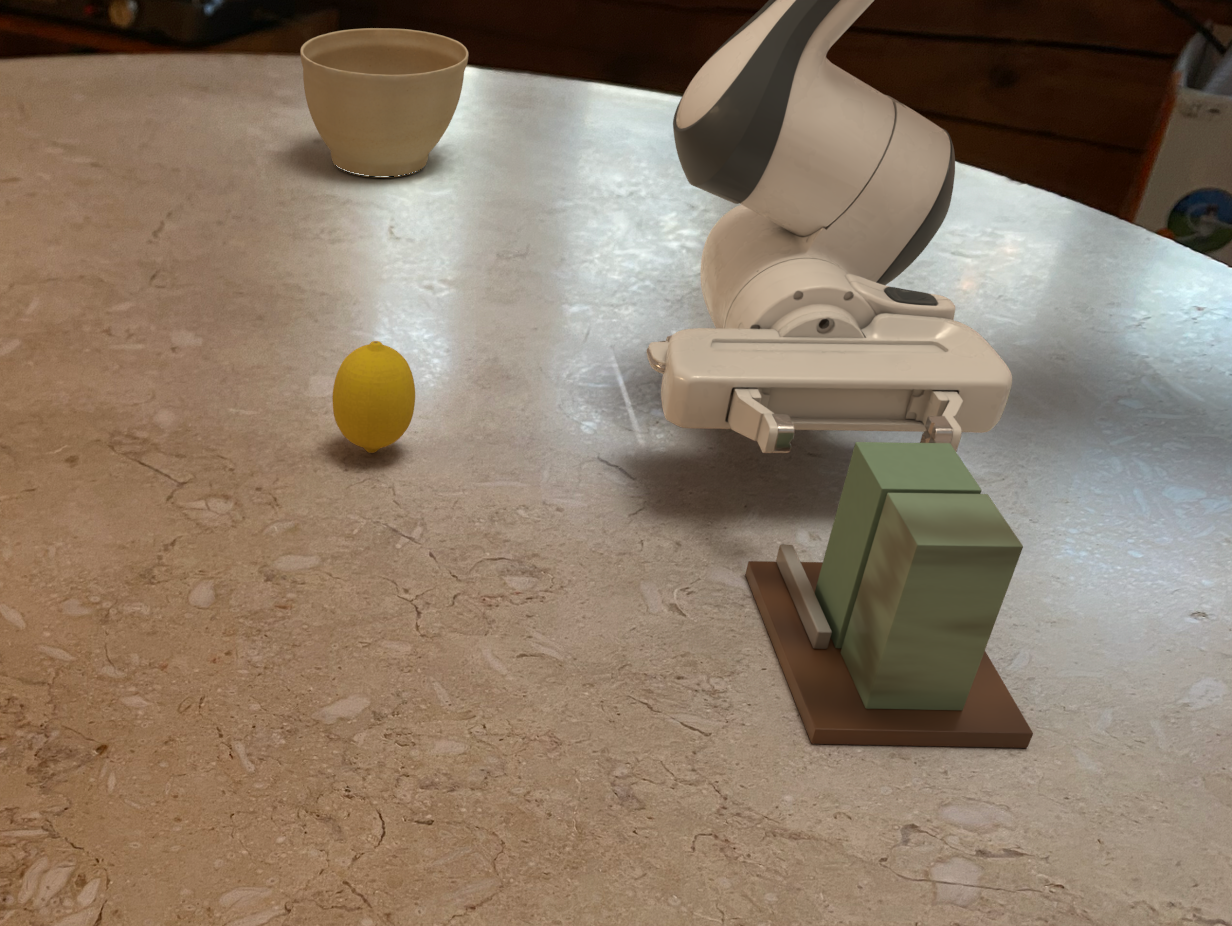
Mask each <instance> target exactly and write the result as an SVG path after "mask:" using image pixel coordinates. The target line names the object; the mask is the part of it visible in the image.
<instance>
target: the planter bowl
mask: <svg viewBox="0 0 1232 926" xmlns="http://www.w3.org/2000/svg"><path fill="white" fill-rule="evenodd" d="M468 61H469V50H468V49H467V47H466V46H465V45H464V44H463V43H462V42H460V41H458V40H456V39H454V38H451V37H448V36H445V35H441V34H437V33H433V32H428V31H424V30H423V31H422V30H415V29H407V28H406V29H405V28H392V27H391V28H389V27H388V28H381V27H380V28H379V27H376V28H375V27H374V28H373V27H370V28H369V27H368V28H367V27H366V28H353V29H351V28H350V29H343V30H337V31H332V32H331V31H330V32H328V33H323V34H321V35H320V34H319V35H317V36H315V37H312V38H310V39H308V40H307V41H305V42H304V43H303V44H302V45H301V47H300V62H301V66H302V77H303V78H302V79H303V80H302V81H303V89H304V96H305V100H306V104H307V108H308V111H309V114H310V116H311V119H312V122H313V124H314V126H315V128H316V130H317V132H318V134H319V136H320V138H321V139H322V141H323V142H324V143H325V145H326V146H327V148H328V149H329V151H330V157H331V162H332V161H333V162H332V164H333V163H334V164H335V165H337V166H338V167H340V168H342V169H345V170H347V171H350V172H354V173H359V174H364V175H369V176H394V177H393V178H399V177H400V176H398V175H402V176H401V177H404V176H409V175H413V174H415V173H416V174H417V173H418V172H420V171H421V170H423V169H424V168H425V167H426V165H427V164H428V160H429V155H430V153H431V152H432V150H433V149H434V148H435V147H436V146H437V145H438V144H439V142H440V140H441V139H442V138H443V136H444V134H445V133H446V131H447V129H449V126H450V124H451V122H452V119H453V118H454V116H455V113H456V110H457V107H458V104H459V102H460V98H461V95H462V89H463V84H464V78H465V77H464V76H465V71H466V68H467V65H468ZM334 164H333V165H334ZM335 165H334V166H335ZM424 166H425V167H424ZM423 167H424V168H423ZM422 168H423V169H422ZM420 169H421V170H420ZM418 170H419V171H418ZM415 171H417V172H415ZM343 172H344V173H346V172H345V171H343ZM412 172H414V173H412ZM409 173H411V174H409ZM404 174H407V175H404ZM353 175H355V174H353ZM355 176H356V175H355ZM358 176H359V177H361V176H360V175H358ZM369 176H364V177H366V178H370V177H369ZM378 178H381V179H382V178H385V179H386V178H388V177H378Z"/></svg>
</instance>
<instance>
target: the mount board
mask: <svg viewBox="0 0 1232 926" xmlns="http://www.w3.org/2000/svg"><path fill="white" fill-rule="evenodd" d="M1023 549H1024V545H1023V544H1022V542H1021V541H1020V539H1019V537H1017V535H1016V534H1015V532H1014V530H1013V529H1012V527H1011V526H1010V525H1009V523H1008V522H1007V521H1006V519H1005V517H1004V516H1003V515H1002V513H1001V512H1000V510H999V509H998V507H997V506H996V504H995V503H994V501H993V500H992V498H991V496H989V494H988V493H981V494H948V493H887V496H886V500H885V503H884V507H883V510H882V513H881V517H880V520H879V523H878V527H877V530H876V534H875V537H874V540H873V544H872V547H871V551H870V554H869V557H868V561H867V564H866V568H865V571H864V574H863V578H862V581H861V585H860V588H859V591H858V595H857V598H856V602H855V605H854V608H853V612H852V615H851V619H850V622H849V625H848V629H847V632H846V636H845V639H844V642H843V646H842V648H835V646H834V643H833V641H832V639H831V634H832V631H831V629H830V626H829V624H828V622H827V620H826V617H825V615H824V613H823V611H822V609H821V606H820V604H819V602H818V600H817V598H816V595H815V589H816V586H817V582H818V578H819V575H820V571H821V567H822V564H823V561H822V562H821V561H801V560H800V558H799V556H798V554H797V553H798V552H797V551H796V549H795V547H794V545H793V544H779V547H778V549H777V550H778V551H777V554H776V559H775V561H774V560H773V561H771V560H770V561H769V560H768V561H767V560H766V561H765V560H749V561H748V562H747V565H746V566H747V567H746V569H745V573H744V575H745V577H746V580H747V583H748V586H749V588H750V591H751V593H752V597H753V598H754V601H755V603H756V606H757V608H758V611H759V613H760V615H761V618H762V621H763V624H764V626H765V629H766V632H767V634H768V636H769V639H770V642H771V644H772V647H773V649H774V651H775V654H776V657H777V660H778V661H779V665H780V667H781V669H782V672H783V674H784V677H785V679H786V682H787V685H788V688H789V690H790V693H791V695H792V698H793V700H794V703H795V705H796V708H797V709H798V710H797V711H798V713H799V715H800V718H801V721H802V723H803V726H804V728H805V731H806V733H807V736H808V738H809V741H810V743H811V744H812V745H814V744H815V745H852V746H853V745H855V746H856V745H858V746H859V745H861V746H904V747H905V746H910V747H956V748H957V747H959V748H962V747H964V748H1007V749H1008V748H1012V749H1028V748H1029V745H1030V743H1031V740H1032V738H1033V736H1034V731H1033V730H1032V728H1031V727H1030V725H1029V724H1028V722H1027V720H1026V718H1025V717H1024V715H1023V713H1022V711H1021V710H1020V708H1019V706H1018V705H1017V703H1016V701H1015V700H1014V698H1013V696H1012V694H1011V692H1010V691H1009V689H1008V687H1007V686H1006V684H1005V682H1004V680H1003V679H1002V677H1001V676H1000V673H999V672H998V670H997V668H996V667H995V665H994V664H993V662H992V660H991V658H990V657H989V654H988V653H987V652H986V648H987V646H988V643H989V640H990V639H991V635H992V632H993V630H994V626H995V624H996V622H997V619H998V617H999V613H1000V610H1001V608H1002V605H1003V603H1004V600H1005V598H1006V594H1007V591H1008V589H1009V587H1010V583H1011V580H1012V578H1013V576H1014V573H1015V570H1016V568H1017V565H1018V562H1019V561H1020V560H1019V559H1020V556H1021V554H1022V551H1023Z"/></svg>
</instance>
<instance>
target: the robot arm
mask: <svg viewBox="0 0 1232 926" xmlns="http://www.w3.org/2000/svg"><path fill="white" fill-rule="evenodd" d="M874 1H875V0H768V1H767V2H766V3H765V4H764V5H763V6H762V7H761V8H760V9H759V10H758V11H757V12H755V14H753V15H752V17H750V18H749V19H748V20H747V21H746V22H745V23H743V25H741V27H739V28H738V29H737V30H736V31H735V32H734V33H733V34H732V35H731V36H730V37H728V39H727V40H725V42H723V43H722V44H721V45H720V47H718V49H717V50H716V51H714V53H713V54H712V55H711V56H710V57H709V58H708V59H707V60H706V62H705V63H704V64H703V65H702V67H700V69H699V70H698V71H697V73H696V74H695V75H694V76H693V78H692V80H691V81H690V82H689V84H688V85H687V88H686V89H685V91H684V92H683V94H682V96H681V98H680V100H679V102H678V104H677V107H676V109H675V111H674V116H673V119H672V128H673V129H672V130H673V131H672V132H673V139H674V144H675V149H676V155H677V157H678V160H679V163H680V166H681V169H682V171H683V174H684V176H685V177H686V180H687V182H688V183H689V185H691V186H693V187H695V188H696V189H697V188H698V189H700V190H701V191H704V192H706V193H708V194H711V195H714V196H716V197H718V198H721V199H723V200H725V201H728V202H730V203H732V204H735V205H736V206H735V207H733V208H731V209H730V210H728V211H727V212H725V213H724V214H723V215H722V216H721V217H720V218H719V219H718V221H717V222H716V223H715V224H714V226H713V227H712V228H711V229H710V231H709V234H708V235H707V238H706V240H705V243H704V245H703V250H702V254H701V258H700V274H699V275H700V287H701V292H702V293H701V294H702V296H703V297H702V298H703V300H704V303H705V307H706V309H707V312H708V314H709V316H710V319H711V322H712V323H713V325H714V327H713V328H712V327H707V328H706V327H695V328H693V327H692V328H685V329H681V330H679V331H676V332H674V333H673V334H671V335H668V336H667V337H666V338H665V340H660V341H652V342H650V343H649V344H648V347H647V348H646V358H647V361H648V362H649V365H650V367H651V369H652V370H654V371H655V372H657V373H659V374H662V379H661V385H660V399H661V407H662V411H663V416H664V418H665V420H666V421H667V422H669V423H671V424H673V425H676V426H677V427H680V428H682V429H691V430H692V429H700V430H701V429H702V430H703V429H709V430H711V429H712V430H732V431H734V432H735V433H738V434H739V435H741V436H744V437H746V438H747V439H750V440H751V441H753V442H757V444H758V446H759V448H760V451H761V452H762V453H763V454H789V453H790V452H791V450H792V444H791V442H792V441H793V440H794V438H795V432H796V431H843V432H844V431H845V432H849V431H851V432H852V431H854V432H916V433H917V432H921V433H922V434H921V437H920V440H919V443H950V444H951V445H952V447H953V448H954V450H955V451H956V453H957V451H958V448H959V445H960V442H961V439H962V435H963V434H962V433H976V434H977V433H979V434H982V433H983V434H984V433H988V432H990V431H991V430H992V429H994V428H995V427H996V425H997V424H998V423H999V422H1000V420H1001V418H1002V417H1003V414H1004V412H1005V409H1006V406H1007V404H1008V400H1009V397H1010V394H1011V391H1012V390H1011V389H1012V385H1013V375H1012V372H1011V370H1010V368H1009V366H1008V364H1006V362H1005V361H1004V359H1002V357H1001V356H1000V354H999V353H998V352H997V351H996V349H995V348H994V347H992V345H991V344H990V343H989V342H988V341H987V340H986V339H985V338H984V337H983V336H982V335H981V334H980V333H979V332H978V331H977V330H975V329H973V328H972V327H971V326H969V325H968V324H965V323H963V322H960V321H957V320H955V315H956V304H955V303H954V302H953V301H952V300H951V299H950V298H948V297H946V296H943V295H940V294H935V293H928V292H924V291H917V290H911V289H905V288H900V287H896V286H890V285H888V284H890V283H891V282H892V281H894V280H895V279H896V278H898V277H899V276H900V275H901V274H902V273H903V272H905V271H906V270H907V269H908V268H909V266H911V265H912V263H914V262H915V261H916V260H917V259H918V258H919V256H920V255H921V254H922V253H923V252H924V250H925V249H926V248H927V247H928V246H929V244H930V243H931V241H933V239H934V237H935V236H936V234H937V233H938V231H939V230H940V229H941V226H942V225H943V223H944V221H945V220H946V217H947V215H948V212H949V210H950V206H951V202H952V197H953V193H954V192H953V190H954V185H955V176H956V155H955V149H954V144H953V140H952V138H951V135H950V133H949V132H948V131H947V130H946V129H945V128H943V127H940V126H939V125H937V124H936V123H934V122H933V121H932V120H930V119H928V118H926V117H925V116H924V115H922V114H920V113H919V112H917V111H915V110H914V109H912V108H910V107H909V106H907V105H905V104H904V103H902V102H901V101H899V100H897V99H895V98H894V97H892V96H890V95H887V94H884V93H883V92H880V91H879V90H877V89H876V88H874V87H872V86H871V85H869V84H868V83H865V82H864V81H862V80H861V79H859V78H858V77H856V76H854V75H852V74H850V73H849V72H847V71H845V70H844V69H842V68H841V67H839V66H837V65H835V64H834V63H832V62H831V61H830V60H829V59H828V58H827V55H828V52H829V50H830V49H831V47H832V46H834V44H835V43H836V42H837V41H838V40H839V39H840V38H841V37H842V36H843V35H844V33H846V32H847V30H849V28H850V27H851V26H852V25H853V24H854V23H855V22H856V21H857V20H858V18H859V17H860V16H861V15H862V14H863V13H864V12H865V11H866V10H867V9H868V8H869V7H870V6H871V4H873V2H874ZM738 204H739V205H738Z"/></svg>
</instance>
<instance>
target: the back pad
mask: <svg viewBox="0 0 1232 926" xmlns="http://www.w3.org/2000/svg"><path fill="white" fill-rule="evenodd" d="M887 493H948V494H982V488H981V486H980V485H979V484H978V483H977V481H976V479H975V477H974V476H973V474H971V472H970V470H969V469H968V467H967V466H966V464H965V463H964V461H963V460H962V458H961V457H960V456H959V454H958V453H957V452H956V451H955V450H954V448H953V447H952V445H951V444H950V443H920V442H891V441H890V442H888V441H887V442H884V441H880V442H879V441H878V442H877V441H856V442H855V443H854V446H853V450H852V453H851V457H850V460H849V465H848V468H847V472H846V476H845V479H844V483H843V487H842V491H841V495H840V497H839V502H838V505H837V508H836V513H835V515H834V519H833V523H832V527H831V530H830V534H829V539H828V542H827V546H826V549H825V554H824V556H823V561H822V562H823V564H822V567H821V571H820V575H819V578H818V582H817V586H816V589H815V595H816V598H817V600H818V602H819V604H820V606H821V609H822V611H823V613H824V615H825V617H826V620H827V622H828V624H829V626H830V629H831V631H832V634H831V639H832V641H833V643H834V646H835V648H842V646H843V642H844V639H845V636H846V632H847V629H848V625H849V622H850V619H851V615H852V612H853V608H854V605H855V602H856V598H857V595H858V591H859V588H860V585H861V581H862V578H863V574H864V571H865V568H866V564H867V561H868V557H869V554H870V551H871V547H872V544H873V540H874V537H875V534H876V530H877V527H878V523H879V520H880V517H881V513H882V510H883V507H884V503H885V500H886V496H887Z"/></svg>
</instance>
